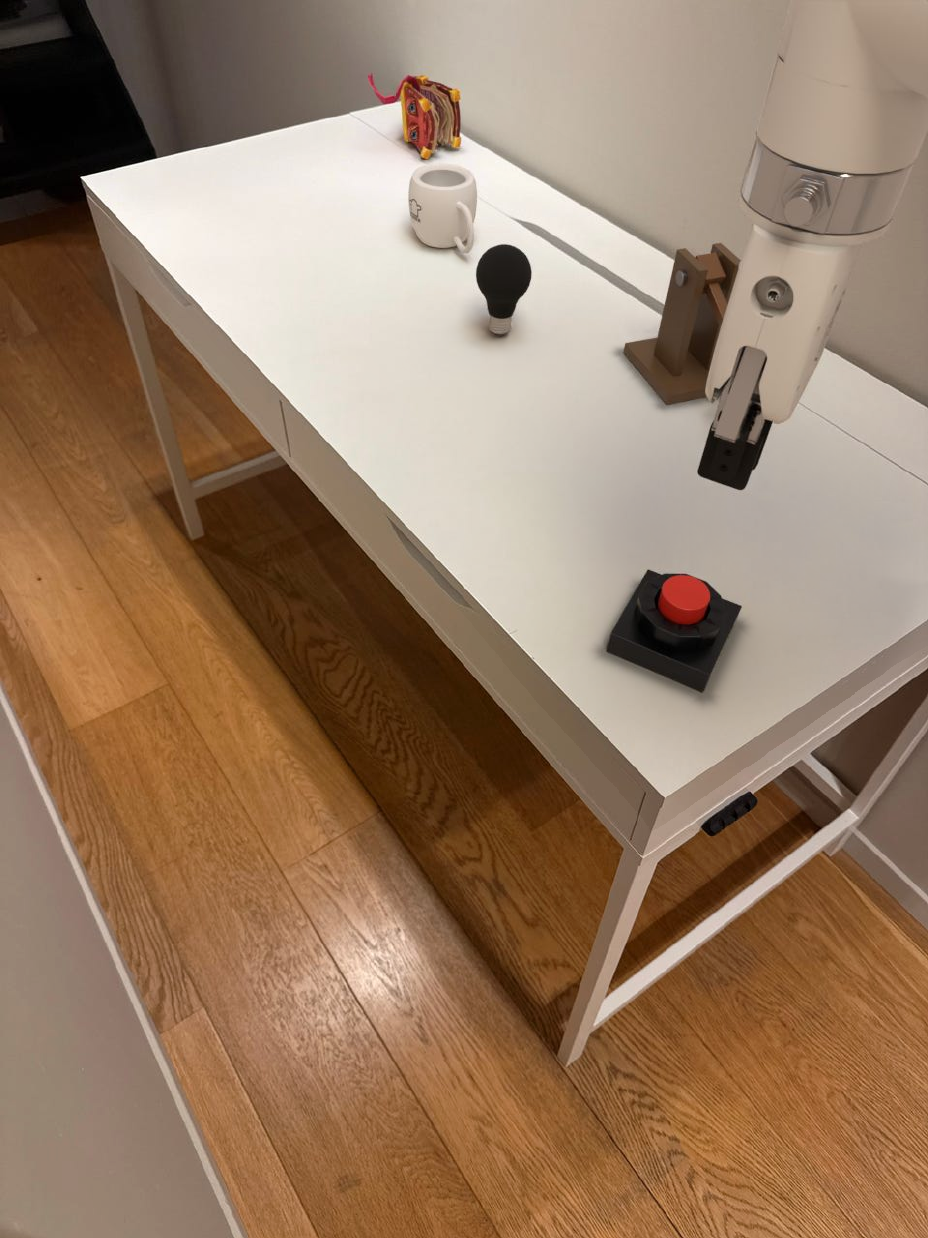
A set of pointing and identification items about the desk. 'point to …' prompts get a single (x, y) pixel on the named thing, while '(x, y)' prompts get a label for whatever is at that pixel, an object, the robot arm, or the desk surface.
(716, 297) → the lever
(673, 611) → the button
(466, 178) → the mug
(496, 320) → the light bulb
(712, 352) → the bracket
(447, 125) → the book monster
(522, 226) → the desk surface
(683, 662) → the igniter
